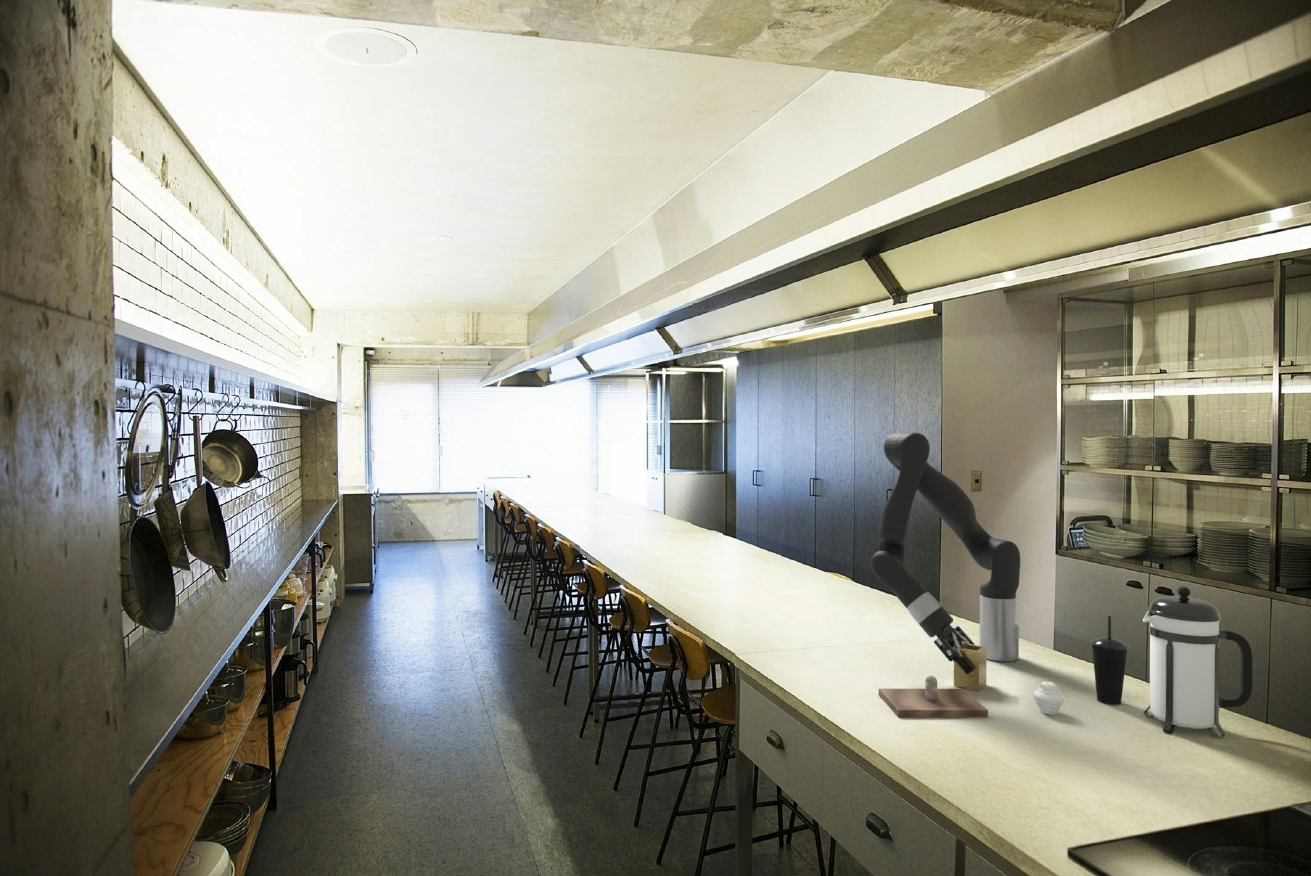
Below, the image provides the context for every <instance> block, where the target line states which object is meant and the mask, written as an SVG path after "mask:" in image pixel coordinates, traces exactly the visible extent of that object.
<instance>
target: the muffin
mask: <svg viewBox="0 0 1311 876" xmlns="http://www.w3.org/2000/svg"><path fill="white" fill-rule="evenodd" d="M1032 696H1033V698H1034V701H1035V704H1036V705H1037V707H1038V709H1039V711H1040V712H1041V713H1042V714H1045V715H1050V716H1055V715H1056V714H1057V713H1058V712H1059V711H1060V710H1061V708H1062V706H1063V704H1064V702H1065V701H1064V700H1065V697H1064V695H1063V694H1062V693H1061V692H1060V690H1059V689H1058V686H1057V684H1056V683H1054V682H1051V681H1049V680H1048V681H1042V682H1041V683H1039V687H1037V689H1036V690H1034V692H1033V695H1032Z"/></svg>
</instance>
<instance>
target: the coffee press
mask: <svg viewBox="0 0 1311 876" xmlns="http://www.w3.org/2000/svg"><path fill="white" fill-rule="evenodd" d="M1177 593H1178V595H1179V596H1176V595H1165V596H1161V597H1156V598H1155V599H1153V600H1152V602H1151V604H1150V605H1149V606H1148V607H1147V612H1146V613H1145V614H1144V617H1143V619H1142V622H1143V623H1148V633H1149V705H1148V707H1147V708H1146V709H1145V710H1144V711H1143V713H1144V716H1145V717H1147V718H1151V717H1153V716H1154V717H1155V718H1156V719H1158V720H1160V721H1162V722H1163V723H1164V724H1163V726H1162V731H1163V732H1164V733H1166V734H1170V735H1172V734H1173V733H1174V731H1175V729H1176V728H1177V727H1182V728H1187V729H1196V730H1199V729H1200V730H1202V729H1203V730H1204V729H1205V730H1206V729H1207V730H1209V731H1210V732H1211V733H1212V734H1213V736H1215V738H1217V739H1221V738H1223V737H1225V736H1226V731H1224V729H1223V728H1222V726H1221V724H1220V721H1219V720H1220V719H1219V717H1220V716H1219V712H1220V708H1238V707H1241V706H1243V705H1245V704H1246V703H1247V702H1248V701H1249V700H1250V697H1251V695H1252V691H1253V690H1252V689H1253V653H1252V648H1251V646H1250V644H1249V642H1248V640H1247V639H1246V638H1245V637H1244V636H1243V635H1240V634H1238V633H1236V632H1234V631H1230V630H1220V621H1221V620H1222V614H1221V613H1219V610H1218V609H1217V607H1216V606H1215V605H1214V604H1212V603H1210V602H1208V601H1206V600H1202V599H1199V598H1195V597H1189V596H1190V595H1191V590H1190V589H1189V588H1188V587H1187V586H1181V587H1179V588H1178V589H1177ZM1222 639H1223V640H1227V641H1229V640H1230V641H1233V642H1234V643H1236V644H1237V646H1238V648H1239V651H1240V677H1239V678H1240V684H1239V691H1238V693H1237V694H1236V695H1235V696H1234V697H1231V698H1224V697H1223V698H1221V697H1219V695H1220V693H1219V691H1220V690H1219V689H1220V687H1219V686H1220V685H1219V684H1220V681H1219V680H1220V666H1219V665H1220V649H1219V648H1220V647H1219V645H1220V642H1221V640H1222ZM1149 710H1150V713H1151V714H1152V715H1151V714H1149V712H1148V711H1149ZM1215 726H1216V728H1217V730H1218V731H1219V732H1220V734H1221V735H1220V734H1219V733H1218V732H1217V731H1216V730H1215V729H1214V728H1213V727H1215Z"/></svg>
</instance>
